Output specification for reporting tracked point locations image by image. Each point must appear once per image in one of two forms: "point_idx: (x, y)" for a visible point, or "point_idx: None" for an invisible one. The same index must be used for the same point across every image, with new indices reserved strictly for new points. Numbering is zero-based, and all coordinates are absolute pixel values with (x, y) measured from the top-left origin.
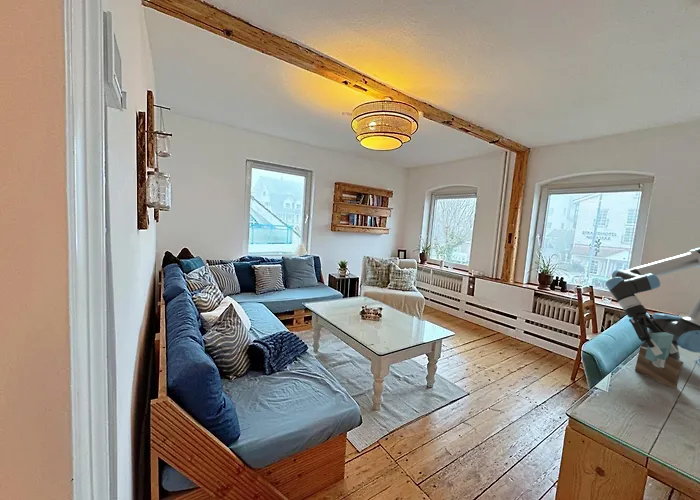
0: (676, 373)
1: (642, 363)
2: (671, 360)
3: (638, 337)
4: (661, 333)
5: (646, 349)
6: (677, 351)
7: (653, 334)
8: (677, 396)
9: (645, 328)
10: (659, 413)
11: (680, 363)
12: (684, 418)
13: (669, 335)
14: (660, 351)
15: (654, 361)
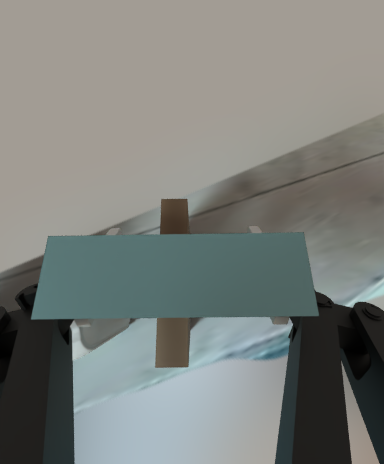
0: (188, 218)
1: (189, 319)
2: (186, 226)
3: (366, 357)
4: (161, 289)
5: (187, 332)
6: (116, 228)
7: (311, 287)
8: (228, 205)
9: (337, 436)
10: (357, 174)
11: (178, 201)
12: (315, 154)
13: (126, 235)
14: (260, 231)
15: (116, 319)
